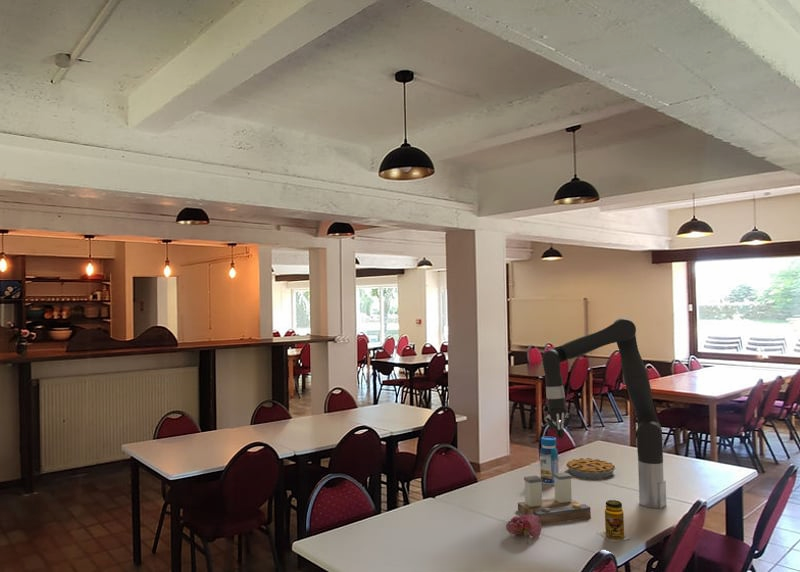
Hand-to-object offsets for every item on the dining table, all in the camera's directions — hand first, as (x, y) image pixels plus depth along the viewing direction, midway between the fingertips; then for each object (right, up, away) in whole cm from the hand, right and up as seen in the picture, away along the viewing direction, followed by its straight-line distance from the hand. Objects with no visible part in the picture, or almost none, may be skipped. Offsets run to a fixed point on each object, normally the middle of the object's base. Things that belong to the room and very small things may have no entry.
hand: (560, 438), depth 243 cm
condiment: (+7, -23, -42) cm, 48 cm away
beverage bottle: (0, -25, +19) cm, 31 cm away
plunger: (-16, -21, -19) cm, 32 cm away
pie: (+24, -25, +32) cm, 47 cm away
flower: (-24, -24, -42) cm, 54 cm away
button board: (-8, -24, -20) cm, 32 cm away
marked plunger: (-3, -21, -15) cm, 26 cm away
